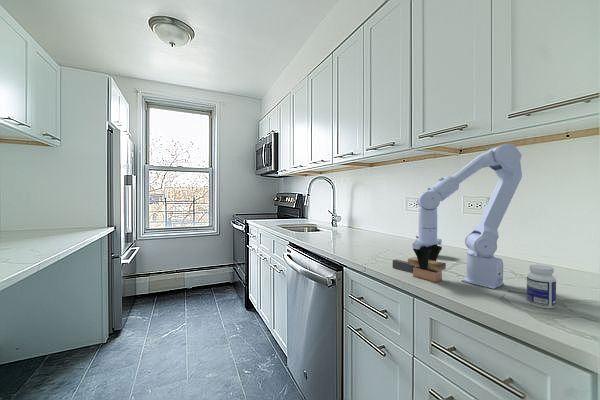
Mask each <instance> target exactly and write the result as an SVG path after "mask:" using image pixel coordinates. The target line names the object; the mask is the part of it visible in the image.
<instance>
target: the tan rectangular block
mask: <svg viewBox="0 0 600 400" xmlns="http://www.w3.org/2000/svg"><path fill="white" fill-rule="evenodd" d="M412 277H414V278H416V279H420V280H421V279H422V280H424V281H428V282H432V283H436V284H437V283H438V282H442V281H443V270H442V271H435V270H431V269H427V270H424V269H420V267H417V266H415V267H413V272H412Z"/></svg>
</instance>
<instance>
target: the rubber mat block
mask: <svg viewBox="0 0 600 400" xmlns="http://www.w3.org/2000/svg"><path fill="white" fill-rule="evenodd" d="M413 267H416V266H413V265H408V261H406V260H401V259H392V269H396V270H399V271H403V272H407V273H410V274H411V273H412V274H413Z"/></svg>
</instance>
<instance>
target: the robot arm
mask: <svg viewBox="0 0 600 400" xmlns="http://www.w3.org/2000/svg"><path fill="white" fill-rule="evenodd" d="M521 160H522V153H521V152H520V151H519V149H518V148H517V146H516V145H514V144H513V143H512V144H511V143H503V144H500V145H498V146H496V147H495V146H494V147H492V148H489V149H487V150H486V151H485V152H483V153H481V154H479V155H478V156H476V157H474V158H473V159H472V160H471V161H469V162H468V163H467V164H466V165H464V167H462V168H461V169H460V170H458V171H457V172H456V173H455V174H453V175H452V176H449V175H447V176H444V177H440V178H438V179H437V180H438V181H437V182H436V183H435V184H434V185H433V186H431V187H430V186H429V187H427V188H426V192H422V193H420V195H418V198H417V200H416V202H417V205H418V232H417V234H418V239H416V238H415V239H414V240H415V241H416V242H413V241H412V242H413V247H412V250H413V252H414V254H415V257H417V259H418V262H419V266H420V269H424V270H427V267H428V260H432V261H438V257H439V255H440V253H441V251H442V250H443V247H442V243H443V242H442V238H438V207H439V205H441V203H440V202H443V201H445V200H446V199H447V198H449V197H450V196H451V195H453V194H454V193H456V192H457V191H458V190H459V188H460V184H461V183H462V182H464V181H465V180H467V179H468V178H470V177H472V176H473V175H474V174H475V173H477V172H478V171H480V170H481V169H484V168H488V167H489V168H490V169H491V170H493V171H494V172H495V174H496V176H497V177H498V180H497V183H496V184H495V187H494V190H493V192H492V193H491V196H490V198H489V201H488V202H487V204H486V206H485V209H484V211H483V213H482V215H481V217H480V220H479V222H478V223H477V224H476V225H474V227H473V228H472V230H471V231H470V232H469V233H468V234H467V235H466V237H465V238H464V244H465V247H466V248H467V251H466V277H463V278H462V279H461V282H465V283H469V284H472V285H473V284H474V285H477V286H481V287H485V288H489V289H492V290H493V289H496V288H498V287H500V286H502V285H504V284H505V283H504V261H503V259H502V258H499V257H496V256H494V255H495V253H496V252H497V249H498V239H499V232H498V231H499V227H500V225H501V222H502V221H503V218H504V215H505V214H506V213H507V210H508V207H509V205H510V204H511V201H512V199H513V198H514V195H515V193H516V191H517V189H518V187H519V184H520V182H521V180H522V177H523V172H522V166H521V165H522V164H521Z"/></svg>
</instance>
